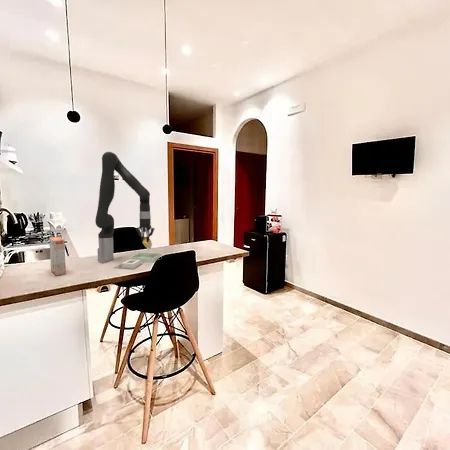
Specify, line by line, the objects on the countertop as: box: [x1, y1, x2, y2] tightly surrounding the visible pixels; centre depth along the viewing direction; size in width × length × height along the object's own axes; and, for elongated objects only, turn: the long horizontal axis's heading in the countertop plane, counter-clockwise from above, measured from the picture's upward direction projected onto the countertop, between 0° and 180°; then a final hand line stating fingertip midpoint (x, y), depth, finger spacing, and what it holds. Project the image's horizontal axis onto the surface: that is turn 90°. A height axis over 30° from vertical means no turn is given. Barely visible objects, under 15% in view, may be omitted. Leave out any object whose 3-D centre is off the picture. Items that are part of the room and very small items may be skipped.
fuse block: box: [113, 258, 143, 271], centre depth 172 cm, size 14×14×4 cm
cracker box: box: [48, 236, 67, 277], centre depth 156 cm, size 14×6×21 cm, turn 42°
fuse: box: [142, 236, 153, 250], centre depth 192 cm, size 3×5×10 cm
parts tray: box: [128, 251, 162, 263], centre depth 190 cm, size 18×16×4 cm
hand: (145, 241), depth 188 cm, fingers closed on fuse, 2 cm apart
